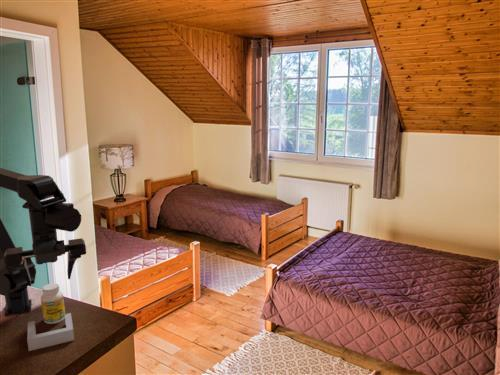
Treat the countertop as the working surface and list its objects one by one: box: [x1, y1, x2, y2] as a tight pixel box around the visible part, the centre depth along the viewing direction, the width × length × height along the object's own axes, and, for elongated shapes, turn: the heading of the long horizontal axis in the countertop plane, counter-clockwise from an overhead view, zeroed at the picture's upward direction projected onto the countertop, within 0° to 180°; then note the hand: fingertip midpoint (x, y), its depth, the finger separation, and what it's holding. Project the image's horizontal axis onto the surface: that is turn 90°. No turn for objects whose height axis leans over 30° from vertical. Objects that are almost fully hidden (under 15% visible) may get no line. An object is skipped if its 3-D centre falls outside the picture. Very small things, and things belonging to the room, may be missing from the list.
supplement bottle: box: [40, 282, 66, 325], centre depth 111 cm, size 5×5×10 cm
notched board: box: [26, 312, 75, 352], centre depth 104 cm, size 8×10×3 cm
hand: (50, 282), depth 110 cm, fingers open, 9 cm apart
